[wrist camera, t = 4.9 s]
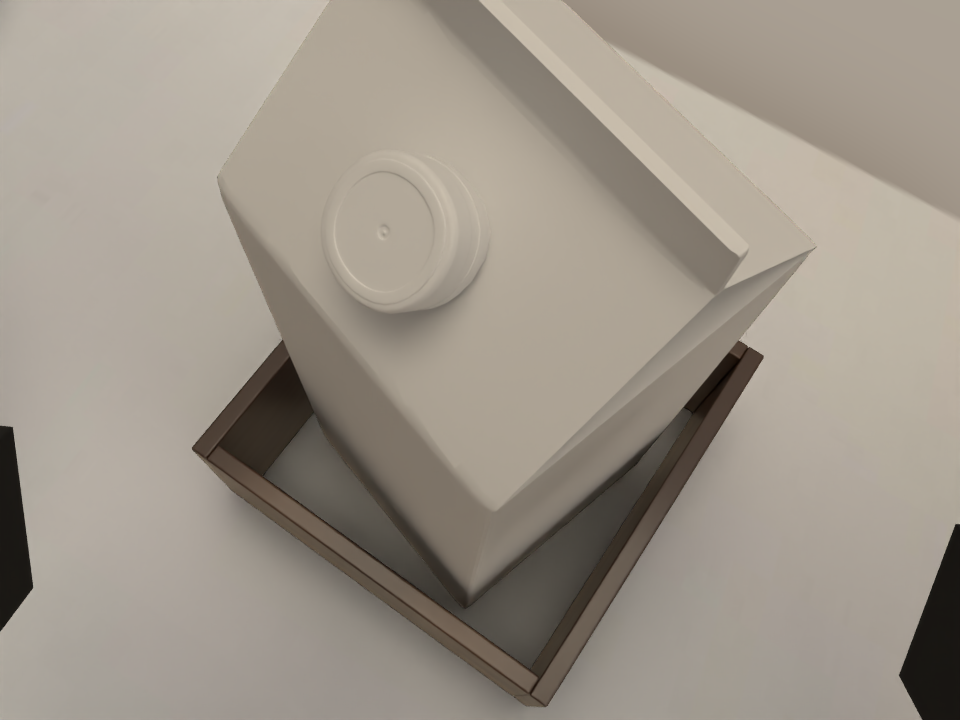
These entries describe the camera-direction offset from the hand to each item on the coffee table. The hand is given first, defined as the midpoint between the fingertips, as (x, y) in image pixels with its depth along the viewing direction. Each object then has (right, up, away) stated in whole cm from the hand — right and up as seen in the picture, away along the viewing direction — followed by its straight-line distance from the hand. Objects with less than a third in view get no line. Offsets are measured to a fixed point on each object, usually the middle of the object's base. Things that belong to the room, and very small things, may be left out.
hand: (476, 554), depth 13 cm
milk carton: (0, 0, +16) cm, 16 cm away
